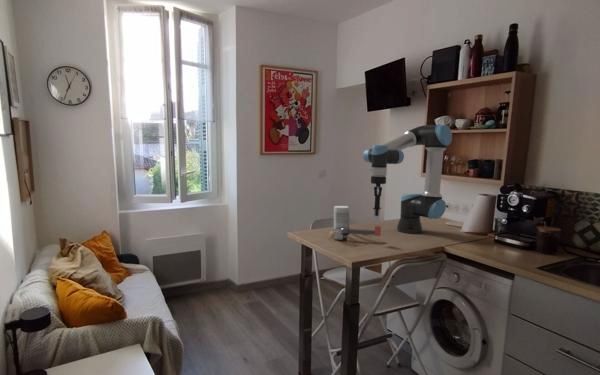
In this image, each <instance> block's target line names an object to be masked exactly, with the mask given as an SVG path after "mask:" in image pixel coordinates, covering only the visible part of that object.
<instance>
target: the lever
mask: <svg viewBox="0 0 600 375" xmlns="http://www.w3.org/2000/svg"><path fill="white" fill-rule="evenodd" d="M373 228H374V229H358V228H357V229H356V228H355V229H354V228H350V227H349V228H347V227H342V228H341V229H339V230H333V231H334V239H336V240H347V235H350V234H362V235H373V236H374V237H381V232H382V230H381V229H382V228H381V225H376V224H375V225H374V227H373Z"/></svg>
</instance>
